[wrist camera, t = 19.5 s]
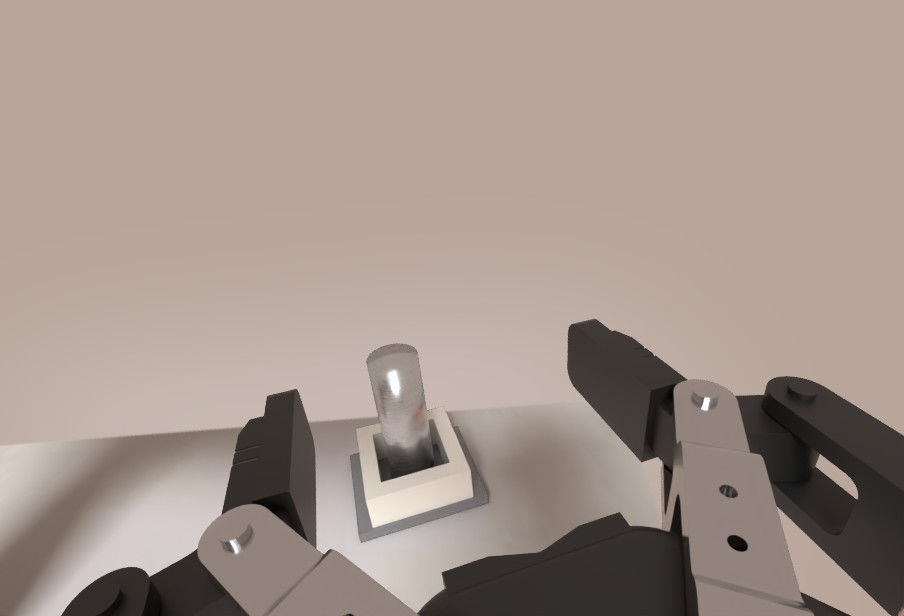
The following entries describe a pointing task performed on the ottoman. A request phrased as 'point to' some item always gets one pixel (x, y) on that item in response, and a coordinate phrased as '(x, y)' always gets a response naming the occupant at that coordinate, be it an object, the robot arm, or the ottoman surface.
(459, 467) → the dock
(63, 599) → the ottoman surface
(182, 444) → the ottoman surface
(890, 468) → the robot arm
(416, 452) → the silver metal cylinder
